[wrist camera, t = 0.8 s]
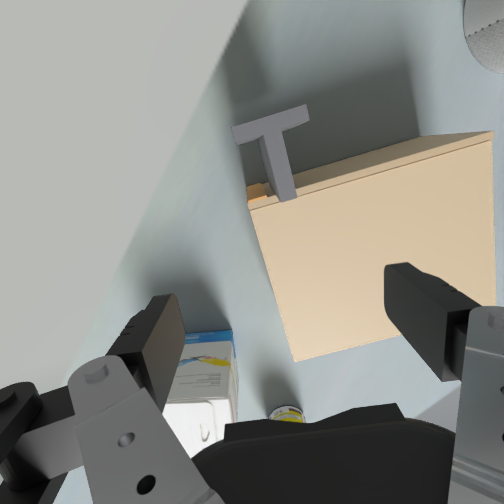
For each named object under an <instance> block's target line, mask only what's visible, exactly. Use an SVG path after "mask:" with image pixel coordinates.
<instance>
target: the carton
mask: <svg viewBox="0 0 504 504" xmlns="http://www.w3.org/2000/svg"><path fill="white" fill-rule="evenodd" d="M297 197H298V198H296V199H292V200H289V201H286V202H282V203H281V202H276V203H273V204H269V205H266V206H262V207H259V208H256V209H252V210H250V214H251V217H252V220H253V224H254V227H255V231H256V234H257V237H258V241H259V244H260V247H261V251H262V254H263V258H264V261H265V264H266V268H267V271H268V274H269V278H270V281H271V285H272V288H273V291H274V295H275V298H276V301H277V305H278V308H279V312H280V315H281V318H282V322H283V325H284V328H285V332H286V335H287V339H288V342H289V345H290V349H291V352H292V355H293V359H294V362H297V361H301V360H305V359H309V358H313V357H317V356H321V355H325V354H329V353H333V352H337V351H340V350H344V349H348V348H352V347H356V346H360V345H364V344H368V343H372V342H376V341H380V340H383V339H387V338H391V337H395V336H399V335H402V334H401V333H400V331H399V330H398V329H397V328H396V327H395V325H394V324H393V323H392V322H391V321H390V319H389V318H388V316H387V314H386V311H385V308H384V268H385V266H386V265H388V264H395V263H403V262H409V263H410V264H412V265H413V266H415V267H416V268H417V269H419V270H420V271H422V272H423V273H424V272H425V273H428V274H431V275H434V276H437V277H439V278H441V279H442V280H444V281H445V282H447V283H448V284H449V285H451V286H453V287H454V288H456V289H457V290H458V291H461V292H462V293H464V294H465V295H467V296H468V297H470V298H471V299H473V300H474V301H476V302H477V303H479V304H480V305H482V306H496V277H495V238H494V198H493V159H492V140H487V141H484V142H480V143H477V144H474V145H470V146H467V147H463V148H460V149H457V150H453V151H450V152H446V153H443V154H440V155H436V156H433V157H429V158H426V159H423V160H419V161H416V162H412V163H409V164H406V165H402V166H399V167H395V168H392V169H389V170H385V171H382V172H378V173H375V174H371V175H368V176H365V177H361V178H358V179H354V180H351V181H348V182H344V183H341V184H337V185H334V186H331V187H327V188H324V189H320V190H317V191H314V192H310V193H307V194H303V195H300V196H297Z"/></svg>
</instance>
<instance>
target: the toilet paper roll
mask: <svg viewBox="0 0 504 504" xmlns="http://www.w3.org/2000/svg"><path fill="white" fill-rule="evenodd" d="M463 24H464V33H465V38H466V41H467V44H468V47H469V49H470V51H471V52H472V54H473V56H474V57H475V58H476V60H477V61H478V62H479V63H480V64H481V65H482V66H484V67H485V68H487V69H488V70H490V71H493V72H496V73H501V74H504V0H466V2H465V7H464V17H463Z"/></svg>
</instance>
